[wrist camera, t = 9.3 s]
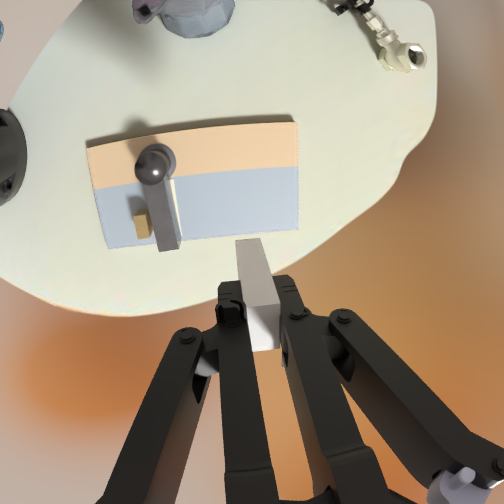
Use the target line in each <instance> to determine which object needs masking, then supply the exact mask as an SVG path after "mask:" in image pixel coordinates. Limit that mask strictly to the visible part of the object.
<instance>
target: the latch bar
mask: <svg viewBox="0 0 504 504" xmlns="http://www.w3.org/2000/svg"><path fill="white" fill-rule="evenodd" d="M170 167H171V160H170V157H169V155H168V154H167V153H166V152H165V151H163V150H161V149H153V150H150V151H148V152H147V153H145V154H144V155H142V156H141V157H140V158H139V159H138V160H137V161H136V163H135V167H134V172H135V176H136V178H137V179H138V180H139V181H140V182H141V183H143V188H144V193H145V197H146V201H147V206H148V210H149V214H150V218H151V222H152V227H153V230H154V234H155V238H156V242H157V246H158V250H159V252H162V251H169V250H175V249H179V247H180V243H181V239H182V237H181V232H180V228H179V223H178V219H177V214H176V209H175V204H174V199H173V194H172V189H171V184H170V179H169V174H168V172H169V170H170Z"/></svg>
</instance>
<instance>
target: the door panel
mask: <svg viewBox="0 0 504 504" xmlns="http://www.w3.org/2000/svg"><path fill="white" fill-rule="evenodd" d="M153 149H161V150H163V151H165V152H166V153H167V154H168V155H169V157H170V160H171V167H170V170H169V172H168V174H169V179H170V184H171V189H172V194H173V199H174V204H175V209H176V214H177V219H178V223H179V228H180V232H181V237H182V239H181V241H186V240H195V239H205V238H215V237H224V236H234V235H245V234H255V233H265V232H276V231H287V230H298V229H299V184H298V134H297V122H272V123H251V124H237V125H225V126H214V127H204V128H196V129H187V130H180V131H173V132H166V133H159V134H153V135H147V136H142V137H136V138H131V139H126V140H121V141H116V142H111V143H107V144H102V145H98V146H93V147H89V148H87V149H86V150H87V156H88V162H89V168H90V174H91V179H92V184H93V189H94V194H95V199H96V203H97V208H98V212H99V216H100V220H101V224H102V228H103V232H104V236H105V240H106V244H107V247H108V249H115V248H123V247H132V246H141V245H149V244H157V242H156V238H155V234H154V230H153V232H152V235H151V237H150V238H144V239H138V238H137V233H136V229H135V224H134V219H133V216H134V214H135V213H136V211H137V210H138V209H145V208H148V206H147V201H146V197H145V193H144V188H143V183H141V182H140V181H139V180H138V179H137V178H136V176H135V172H134V167H135V163H136V161H137V160H138V159H139V158H140V157H141V156H142V155H144V154H145V153H147V152H148V151H150V150H153Z"/></svg>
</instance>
